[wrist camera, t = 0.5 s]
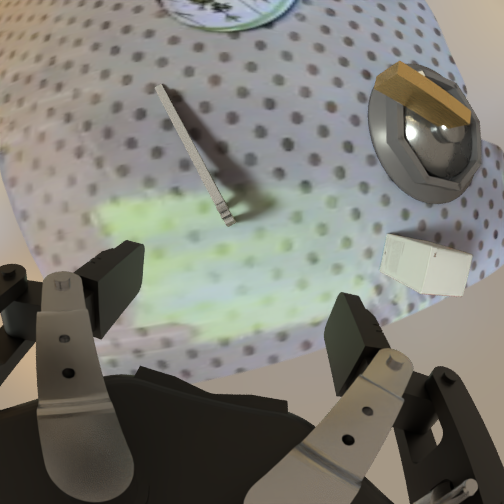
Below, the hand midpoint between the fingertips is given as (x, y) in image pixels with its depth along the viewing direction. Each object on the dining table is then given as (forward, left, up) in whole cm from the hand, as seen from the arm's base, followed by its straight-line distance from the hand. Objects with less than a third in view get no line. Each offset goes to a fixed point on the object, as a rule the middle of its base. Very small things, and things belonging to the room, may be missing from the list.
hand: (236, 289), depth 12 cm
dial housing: (-16, +28, -25) cm, 41 cm away
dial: (-17, +26, -24) cm, 39 cm away
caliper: (-9, -5, -26) cm, 28 cm away
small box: (+3, +25, -25) cm, 36 cm away
